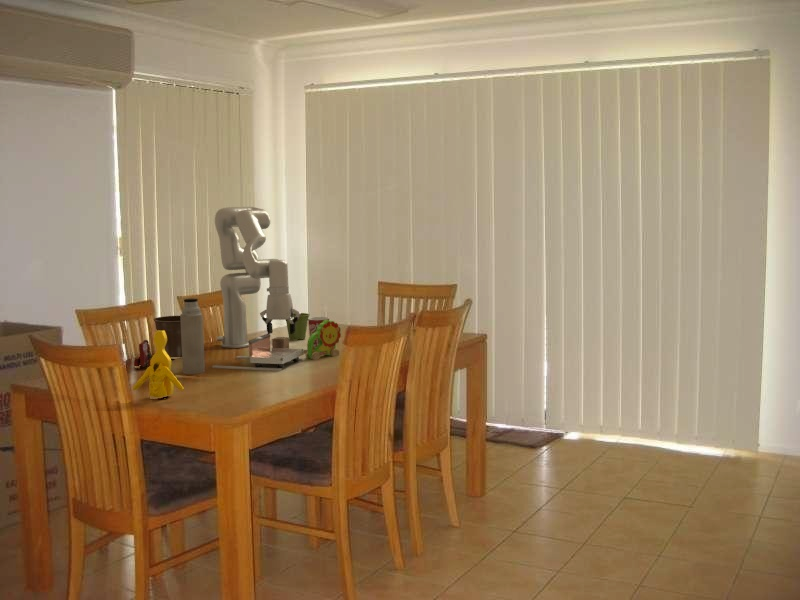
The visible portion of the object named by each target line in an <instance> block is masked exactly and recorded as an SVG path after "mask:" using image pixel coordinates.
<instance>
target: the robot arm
mask: <svg viewBox="0 0 800 600" xmlns="http://www.w3.org/2000/svg"><path fill="white" fill-rule="evenodd" d="M270 225H271V217H270V214H269V213H268V211H267V210H265V209H263V208H258V207H254V206H231V207H230V206H229V207H223V208H220V209H218V210H217V211H216V213H215V215H214V226H215V230H216V232H217V235H218V238H219V248H220V259H221V265H222V268H223V269H224V270H225V271H238V270H239V271H240V270H245V271H244V272H232V273H227V274H225V275H224V276H222V277H221V279H220V283H219V284H220V289H221V290H220V291H221V294H222V302H223V304H222V305H223V322H224V323H223V326H224V327H223V328H224V335H219V336H217V337H216V340H217V341H218V342H222V343H221V347H222V348H225V349H238V348H239V349H240V348H247V347H248V348H249V343H248V341H249V340H248V327H247V325H248V324H247V306H246V305H247V304H246V303H245V301H244V299H243V298H242V297H241V296H243V295H252V294H253V295H254V294H257V293H258V292H259V291H260V289H261V286H262V285H261V279H267V278H268V281H269V285H268V286H269V287H267V288H266V292H268V293H269V294H267V298H266V309H264V310H263V311H261V312H260V313H259V314H260V315H259V316H260V317H261V319H262V321H263V322H264V323H265V325H266V332H267V334H270V335H271V334H273V323H272V321H273V320H274V321H275V320H277V321H278V320H279V321H281V320H282V321H284V320H285V321H286V319H288V320H289V322H290V323H291V324H290V334H293V333H295V323H296V322H297V321H298V319H299V317H300V315H301V313H302V312H301V311H298V310H297V309H295V308H294V306H293V300H292V296H291V293H289V292H290V291H289V289H290V288H289V269H288V268H289V266H288V265H289V264H288V262H287V260H286V259H279V258H278V259H277V258H265V259H264V258H263V259H259V255H258V253H257V251H256V250H257V249H259V248H261V247H262V246H263V245H264V244H265V243H266V240H267V239H266V235H265V233H264V230H266V229H268V228H269V227H270ZM234 228H238V229H239V233H241V236H242V238H243V241H244V242H245V246H244V247H241V242H240V241H241V240H240V236H239V234H238V232H237V231H236V230H235V229H234ZM293 313H294V314H296V317H295V318H293Z"/></svg>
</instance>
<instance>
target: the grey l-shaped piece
mask: <svg viewBox="0 0 800 600" xmlns="http://www.w3.org/2000/svg"><path fill="white" fill-rule="evenodd" d="M247 341H248V343H249V346H248V352H249V353H248V357H249V359H248V360H249V363H250V364H254V365H255V366H254V367H260V368H263V364H267V365H268V364H272V365H273V364H274V365H276V366H277V367H276V368H282V369H283V368H284V367H285V364H286V363H288V362H290V361H291V360H293V363H297V362H300V361H299V359H300V357H301V356H304V349H303V348H289V349H288V348H272V347H271V334H268V333H266V334H263V335H260V336H257V337H255V338H252V339H249V340H247Z"/></svg>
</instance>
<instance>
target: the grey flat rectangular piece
mask: <svg viewBox="0 0 800 600" xmlns="http://www.w3.org/2000/svg"><path fill="white" fill-rule="evenodd" d="M236 359H241V360H242V359H243V360H245V359H247V360H250V359H249V355H248V356H246V355H245V356H243V355H238V356H236ZM290 361H293V360H290ZM303 361H304V359H303V358H299V361H298V362H303ZM211 366H212V367H211V368H212V369H231V370H250V371H251V370H253V371H276V372H281V371H282V369H283V368H278V367H256V366H232V365H211Z"/></svg>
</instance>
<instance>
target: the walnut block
mask: <svg viewBox="0 0 800 600" xmlns="http://www.w3.org/2000/svg"><path fill="white" fill-rule="evenodd" d="M271 341H272V345H271V346H272V347H271V349H272V348H288V349H290V339H289V336H287V337H286V336H276V337H274V338H272V339H271Z"/></svg>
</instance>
